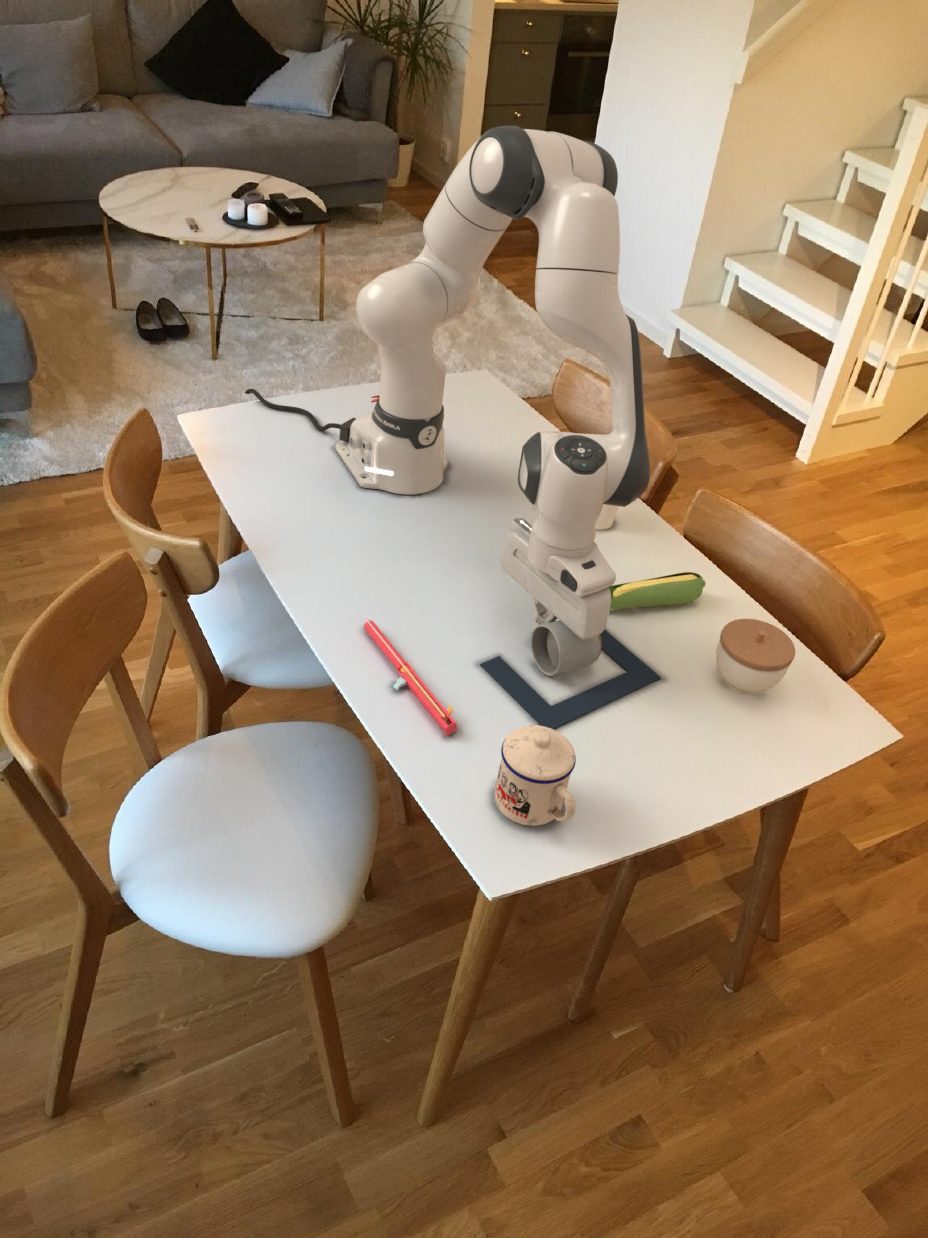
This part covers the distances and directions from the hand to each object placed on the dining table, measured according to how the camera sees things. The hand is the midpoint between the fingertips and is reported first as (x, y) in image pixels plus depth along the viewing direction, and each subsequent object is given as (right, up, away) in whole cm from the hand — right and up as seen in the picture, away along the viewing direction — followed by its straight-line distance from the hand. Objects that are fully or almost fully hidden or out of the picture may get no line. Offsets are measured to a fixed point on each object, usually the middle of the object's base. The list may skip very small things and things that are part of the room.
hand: (543, 625), depth 148 cm
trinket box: (+30, -9, +1) cm, 31 cm away
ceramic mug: (+2, -5, 0) cm, 5 cm away
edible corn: (+18, +3, +13) cm, 22 cm away
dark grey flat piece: (+4, -7, -2) cm, 8 cm away
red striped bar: (-20, -8, -7) cm, 23 cm away
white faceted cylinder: (+12, +18, +31) cm, 38 cm away
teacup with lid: (-3, -23, -23) cm, 33 cm away
